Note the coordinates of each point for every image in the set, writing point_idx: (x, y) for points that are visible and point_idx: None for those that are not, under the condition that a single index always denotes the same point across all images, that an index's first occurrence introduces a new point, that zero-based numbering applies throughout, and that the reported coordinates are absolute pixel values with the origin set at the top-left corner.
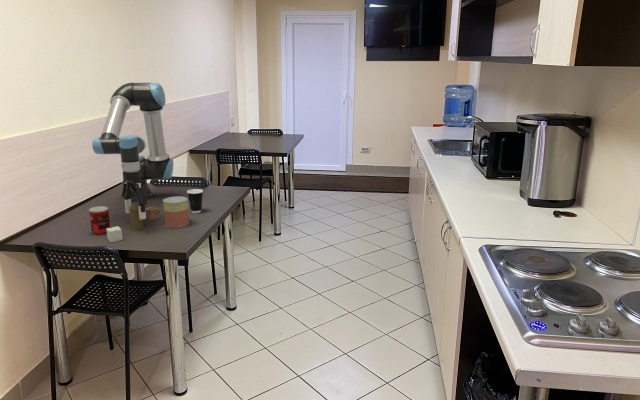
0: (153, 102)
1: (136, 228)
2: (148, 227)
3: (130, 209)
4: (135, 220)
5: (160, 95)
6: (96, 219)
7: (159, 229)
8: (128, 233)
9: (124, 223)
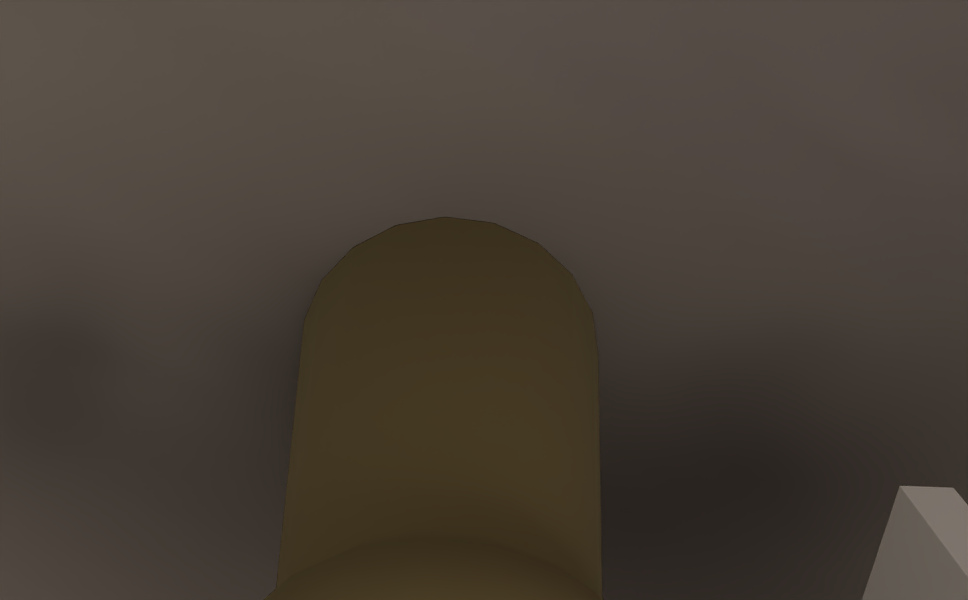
0: None
1: (321, 295)
2: None
3: None
4: (315, 408)
5: None
6: None
7: (23, 567)
8: (195, 14)
9: (947, 317)
